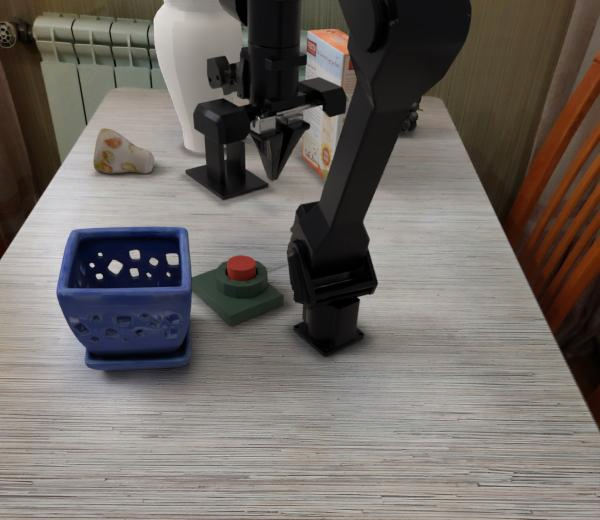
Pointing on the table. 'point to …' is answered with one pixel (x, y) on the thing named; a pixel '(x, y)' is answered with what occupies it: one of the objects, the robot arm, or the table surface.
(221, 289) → the control block
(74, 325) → the flower pot
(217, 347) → the table surface
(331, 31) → the cracker box
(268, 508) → the table surface
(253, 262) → the button
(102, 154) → the white tapered piece
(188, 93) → the vase
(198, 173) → the bracket
